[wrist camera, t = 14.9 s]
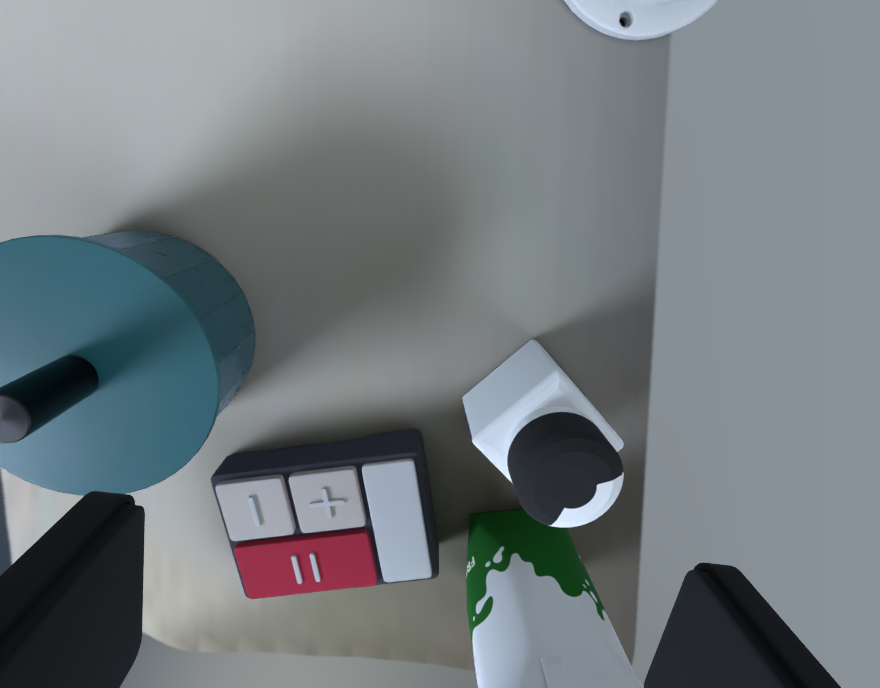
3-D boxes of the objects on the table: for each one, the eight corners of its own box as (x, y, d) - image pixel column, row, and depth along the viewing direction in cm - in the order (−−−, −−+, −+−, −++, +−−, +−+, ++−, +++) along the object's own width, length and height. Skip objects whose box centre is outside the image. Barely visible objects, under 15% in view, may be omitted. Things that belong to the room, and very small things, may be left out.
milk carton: (565, 582, 44) (686, 883, 25) (461, 592, 44) (503, 906, 25) (566, 494, 41) (701, 756, 22) (456, 504, 41) (497, 779, 22)
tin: (48, 213, 33) (-68, 222, 25) (263, 250, 34) (219, 270, 26) (54, 405, 37) (-45, 466, 29) (248, 431, 38) (205, 496, 30)
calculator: (203, 482, 35) (419, 456, 35) (227, 450, 39) (421, 427, 39) (242, 608, 38) (439, 586, 38) (260, 567, 42) (439, 547, 42)
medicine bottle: (459, 397, 38) (480, 486, 27) (532, 335, 37) (587, 402, 26) (518, 458, 40) (561, 566, 29) (589, 401, 39) (664, 490, 28)
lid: (-71, 209, 25) (-221, 216, 19) (233, 260, 27) (183, 281, 21) (-45, 469, 29) (-162, 541, 23) (217, 499, 31) (171, 575, 25)
